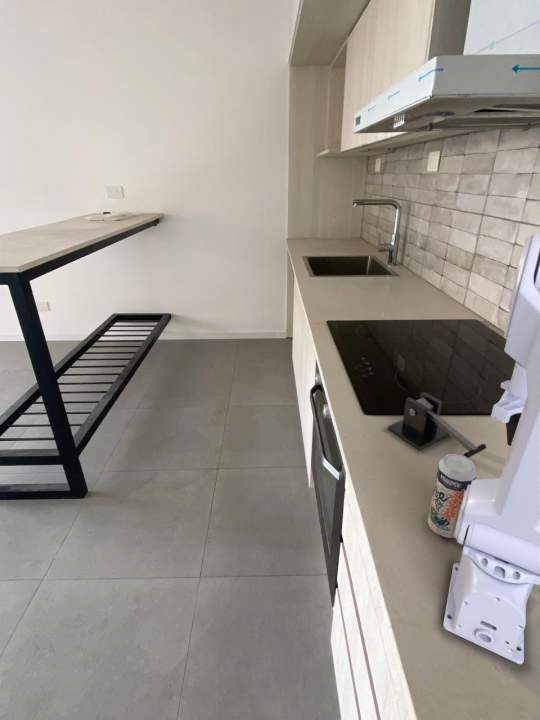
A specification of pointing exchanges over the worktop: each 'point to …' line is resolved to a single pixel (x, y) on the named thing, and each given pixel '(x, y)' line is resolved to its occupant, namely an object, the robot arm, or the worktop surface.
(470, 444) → the lever
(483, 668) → the worktop surface
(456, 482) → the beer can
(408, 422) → the bracket
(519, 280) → the robot arm
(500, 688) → the worktop surface
